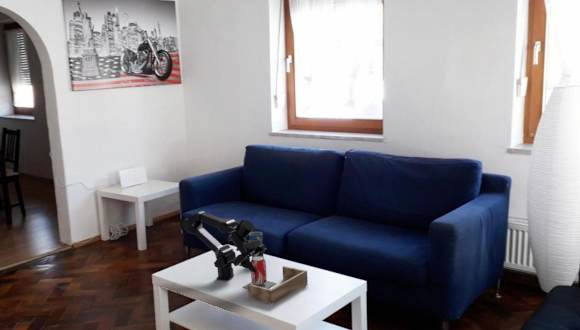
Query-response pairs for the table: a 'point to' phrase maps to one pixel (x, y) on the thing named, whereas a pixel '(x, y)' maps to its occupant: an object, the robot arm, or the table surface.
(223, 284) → the table surface
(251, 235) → the cup
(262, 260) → the soda can
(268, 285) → the mat
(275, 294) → the crate
